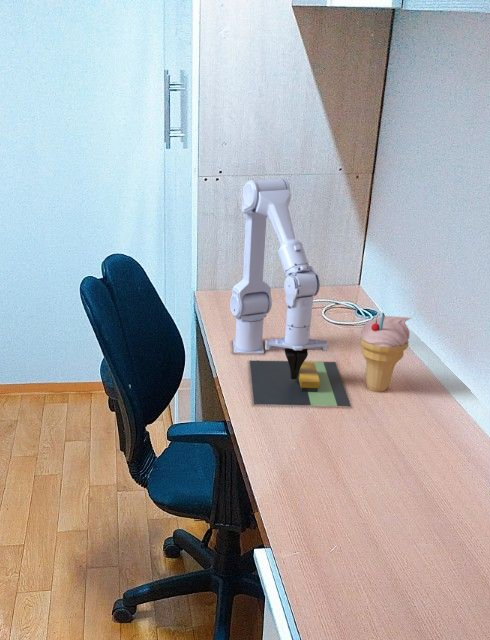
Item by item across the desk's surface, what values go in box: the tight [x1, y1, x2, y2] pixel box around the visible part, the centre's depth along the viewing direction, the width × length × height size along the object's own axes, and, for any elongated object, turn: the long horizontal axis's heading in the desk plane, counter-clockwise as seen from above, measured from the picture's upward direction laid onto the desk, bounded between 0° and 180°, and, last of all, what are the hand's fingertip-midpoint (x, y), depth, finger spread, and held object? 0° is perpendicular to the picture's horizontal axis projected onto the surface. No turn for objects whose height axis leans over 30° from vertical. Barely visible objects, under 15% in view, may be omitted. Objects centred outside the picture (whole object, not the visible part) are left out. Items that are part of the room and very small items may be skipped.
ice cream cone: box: [359, 312, 412, 393], centre depth 170 cm, size 11×11×20 cm
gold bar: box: [298, 361, 320, 392], centre depth 177 cm, size 12×4×3 cm, turn 178°
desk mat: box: [249, 360, 351, 407], centre depth 178 cm, size 26×22×1 cm
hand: (293, 377), depth 177 cm, fingers closed
